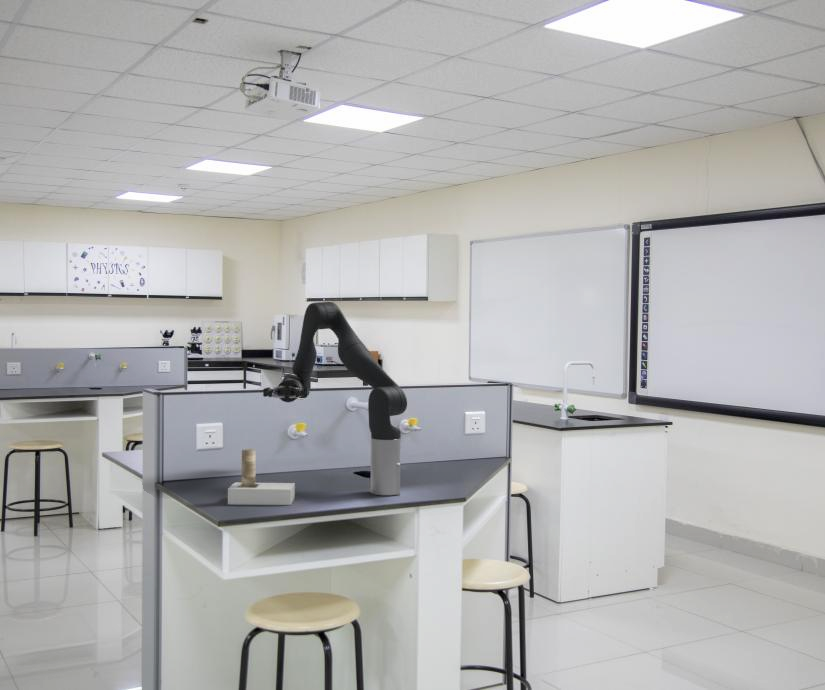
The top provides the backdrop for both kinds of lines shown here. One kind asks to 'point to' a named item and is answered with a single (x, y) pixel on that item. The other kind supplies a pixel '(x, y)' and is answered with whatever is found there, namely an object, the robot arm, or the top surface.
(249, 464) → the birch peg
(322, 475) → the top surface
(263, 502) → the hole block
